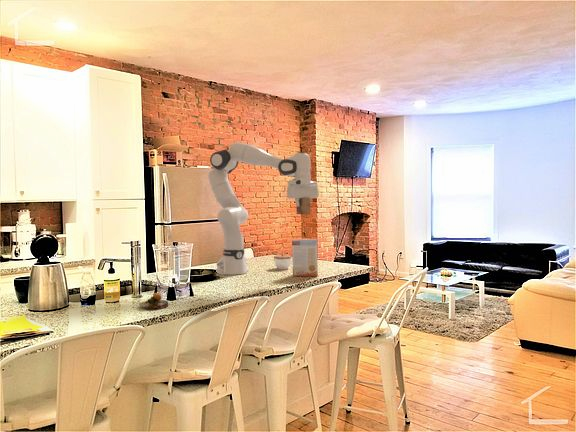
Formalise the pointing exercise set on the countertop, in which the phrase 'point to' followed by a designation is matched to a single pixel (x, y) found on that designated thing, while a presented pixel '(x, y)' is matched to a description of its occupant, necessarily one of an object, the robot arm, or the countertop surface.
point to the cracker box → (304, 257)
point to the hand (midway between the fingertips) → (303, 206)
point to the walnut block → (303, 206)
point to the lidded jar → (282, 261)
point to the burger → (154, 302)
